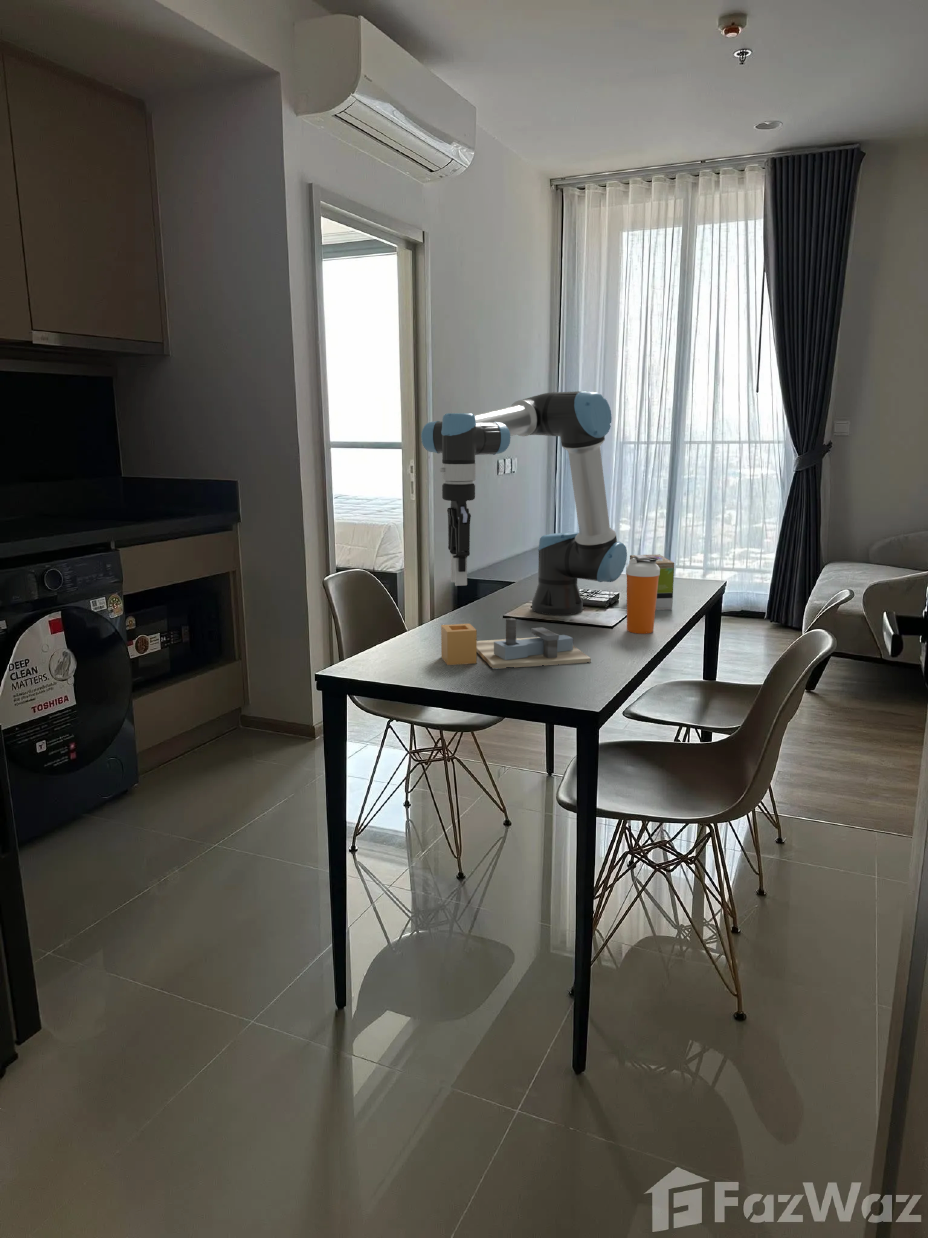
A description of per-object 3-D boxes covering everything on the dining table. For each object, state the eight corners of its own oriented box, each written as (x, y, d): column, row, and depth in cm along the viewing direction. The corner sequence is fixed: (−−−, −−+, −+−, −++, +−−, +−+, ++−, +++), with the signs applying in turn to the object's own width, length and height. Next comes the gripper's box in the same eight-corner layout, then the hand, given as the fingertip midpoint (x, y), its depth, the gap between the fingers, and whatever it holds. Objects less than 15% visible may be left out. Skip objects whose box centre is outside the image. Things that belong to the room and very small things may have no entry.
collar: (441, 657, 211) (441, 625, 210) (469, 655, 213) (469, 623, 211) (447, 665, 205) (447, 631, 203) (476, 663, 206) (476, 630, 204)
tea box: (627, 600, 276) (629, 554, 273) (658, 599, 277) (660, 553, 273) (640, 610, 261) (642, 561, 258) (673, 610, 262) (675, 561, 259)
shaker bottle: (657, 635, 232) (660, 560, 227) (622, 633, 234) (626, 559, 229) (656, 627, 240) (660, 555, 236) (623, 626, 242) (626, 554, 238)
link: (505, 660, 204) (505, 647, 204) (493, 653, 210) (493, 641, 209) (574, 651, 212) (575, 639, 212) (562, 645, 218) (562, 633, 217)
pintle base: (470, 645, 222) (470, 606, 220) (559, 639, 228) (560, 602, 225) (492, 668, 202) (493, 626, 199) (590, 662, 207) (592, 621, 205)
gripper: (435, 480, 206) (435, 577, 212) (450, 485, 190) (450, 591, 196) (466, 479, 208) (466, 576, 213) (483, 484, 192) (483, 589, 197)
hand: (458, 583), depth 205 cm, fingers open, 4 cm apart
